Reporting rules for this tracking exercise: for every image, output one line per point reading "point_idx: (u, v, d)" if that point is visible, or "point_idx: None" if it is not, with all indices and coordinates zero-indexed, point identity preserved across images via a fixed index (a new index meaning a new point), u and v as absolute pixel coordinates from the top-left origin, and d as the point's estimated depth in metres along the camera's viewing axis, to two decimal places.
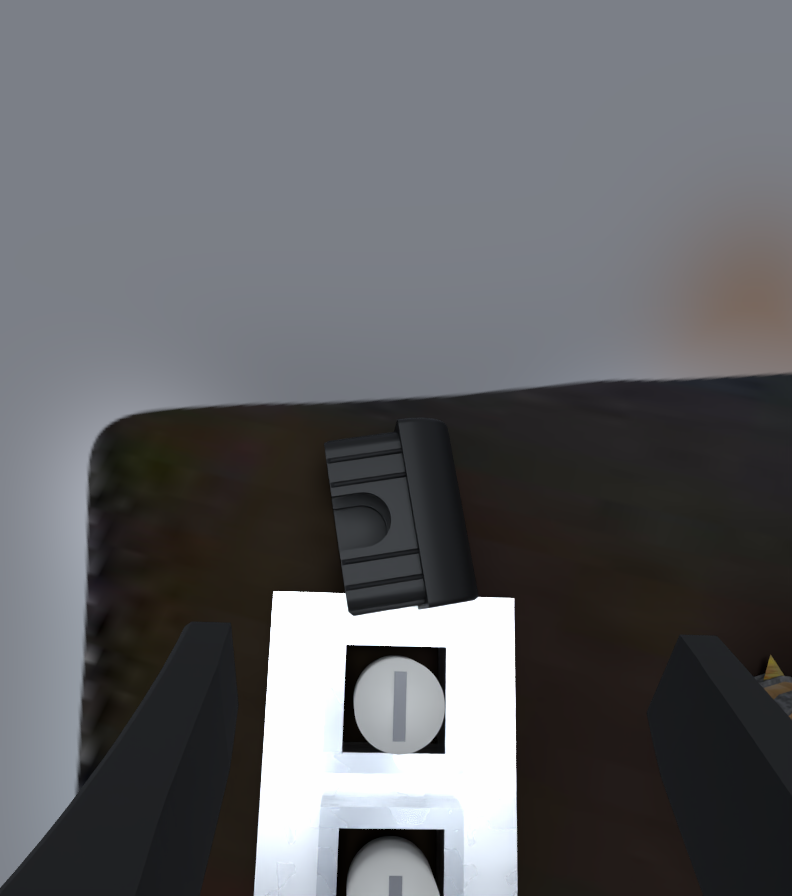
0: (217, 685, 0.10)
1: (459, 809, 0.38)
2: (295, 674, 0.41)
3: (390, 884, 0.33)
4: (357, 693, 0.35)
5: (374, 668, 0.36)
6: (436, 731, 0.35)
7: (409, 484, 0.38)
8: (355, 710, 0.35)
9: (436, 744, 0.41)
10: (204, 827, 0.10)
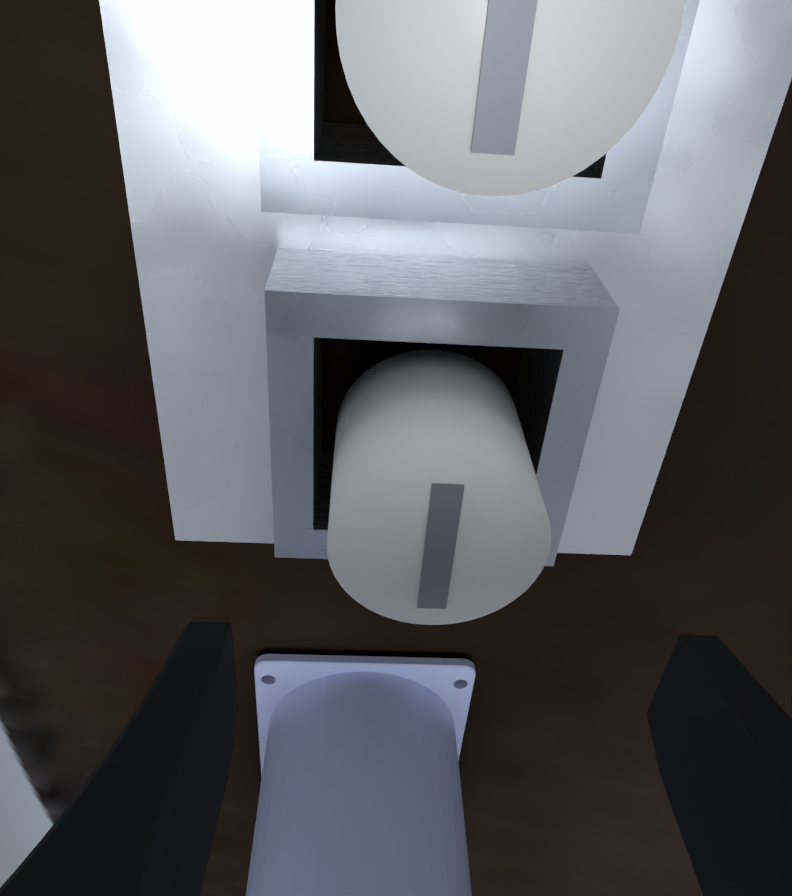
0: (217, 685, 0.10)
1: (608, 310, 0.15)
2: None
3: (433, 499, 0.14)
4: None
5: None
6: (626, 124, 0.10)
7: None
8: (340, 29, 0.09)
9: None
10: (204, 827, 0.10)
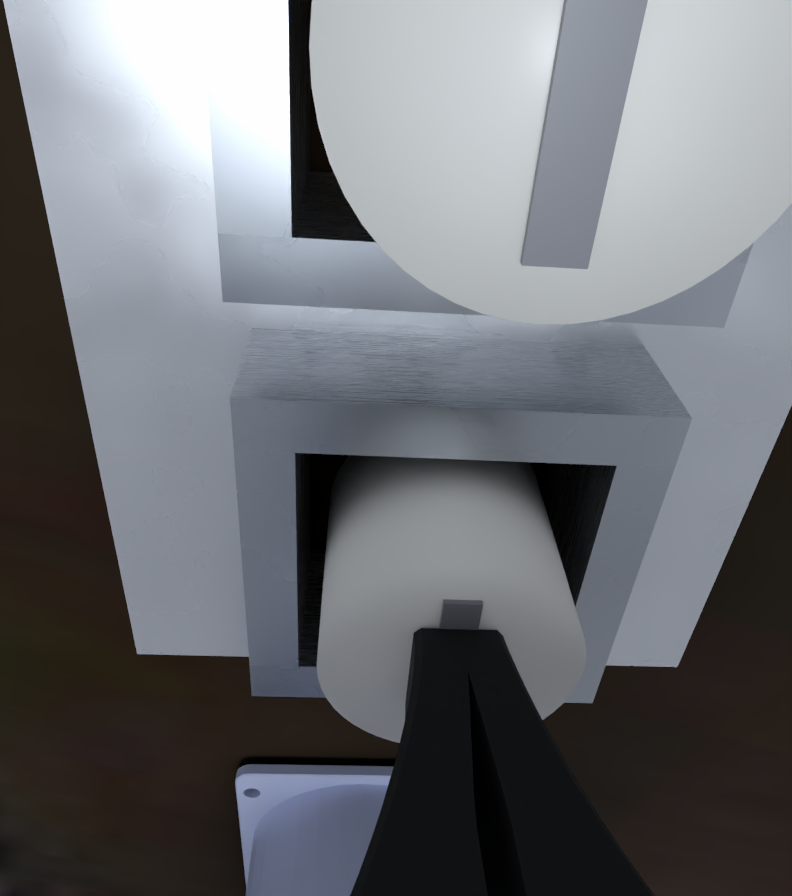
0: None
1: (676, 419, 0.12)
2: None
3: (446, 618, 0.11)
4: None
5: None
6: (762, 222, 0.06)
7: None
8: (318, 82, 0.06)
9: None
10: None
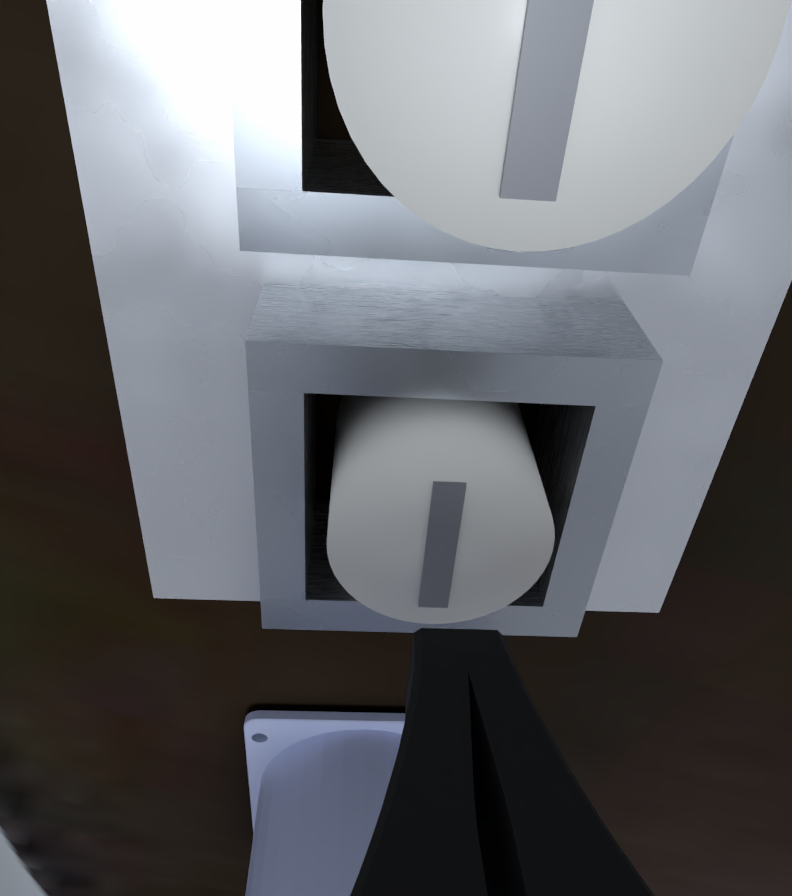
0: None
1: (649, 362, 0.13)
2: None
3: (435, 497, 0.13)
4: None
5: None
6: (702, 161, 0.08)
7: None
8: (329, 39, 0.07)
9: None
10: None
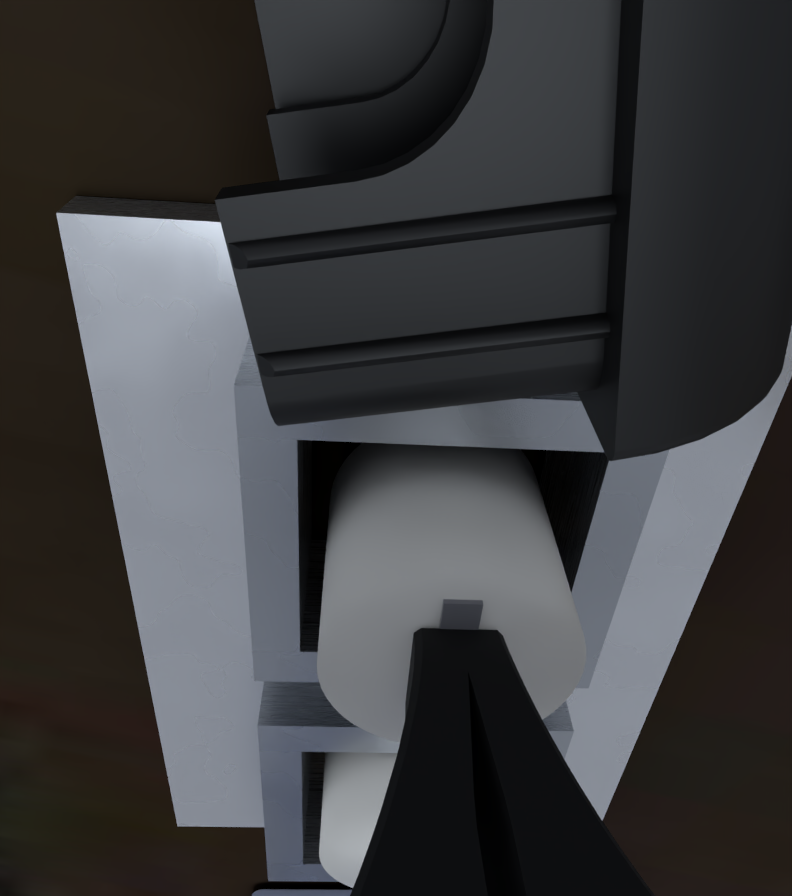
0: None
1: (563, 731, 0.17)
2: (174, 436, 0.15)
3: None
4: (325, 644, 0.12)
5: (378, 590, 0.11)
6: (547, 711, 0.13)
7: None
8: (320, 674, 0.12)
9: None
10: None
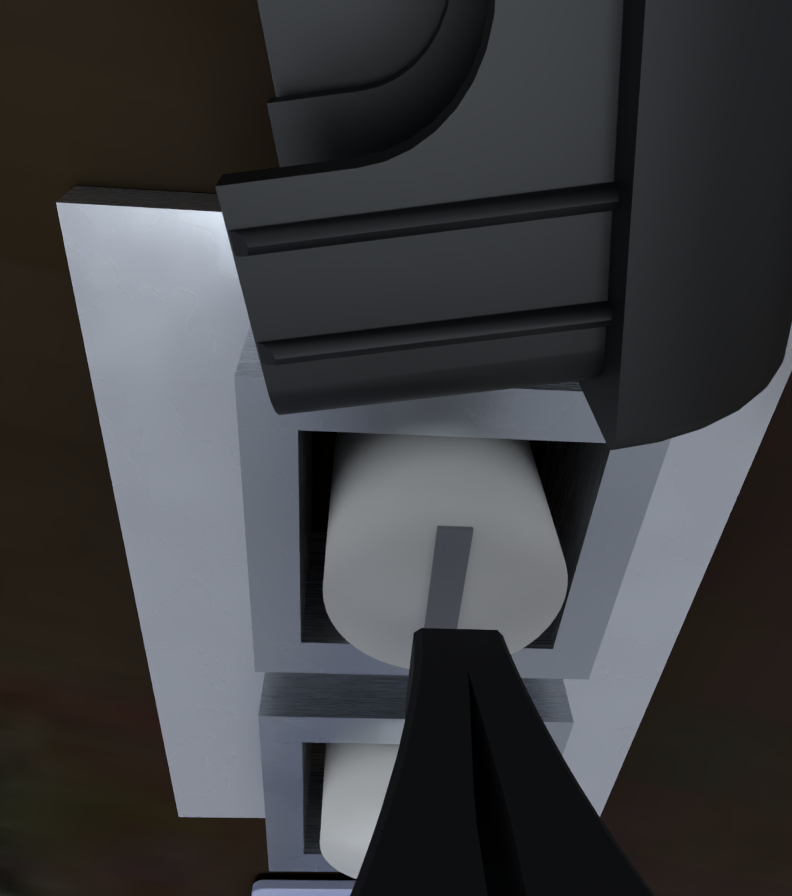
0: None
1: (563, 722, 0.17)
2: (175, 427, 0.15)
3: None
4: (330, 568, 0.13)
5: (379, 517, 0.12)
6: (532, 636, 0.14)
7: None
8: (326, 598, 0.13)
9: None
10: None
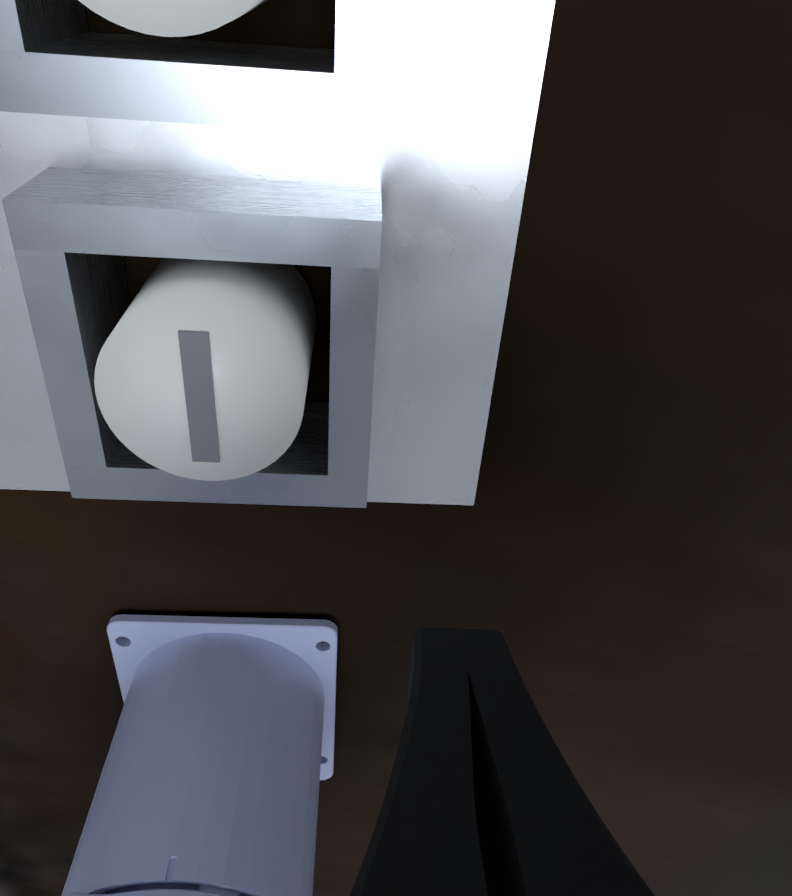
0: None
1: (370, 223, 0.15)
2: None
3: (183, 346, 0.15)
4: None
5: None
6: None
7: None
8: None
9: None
10: None
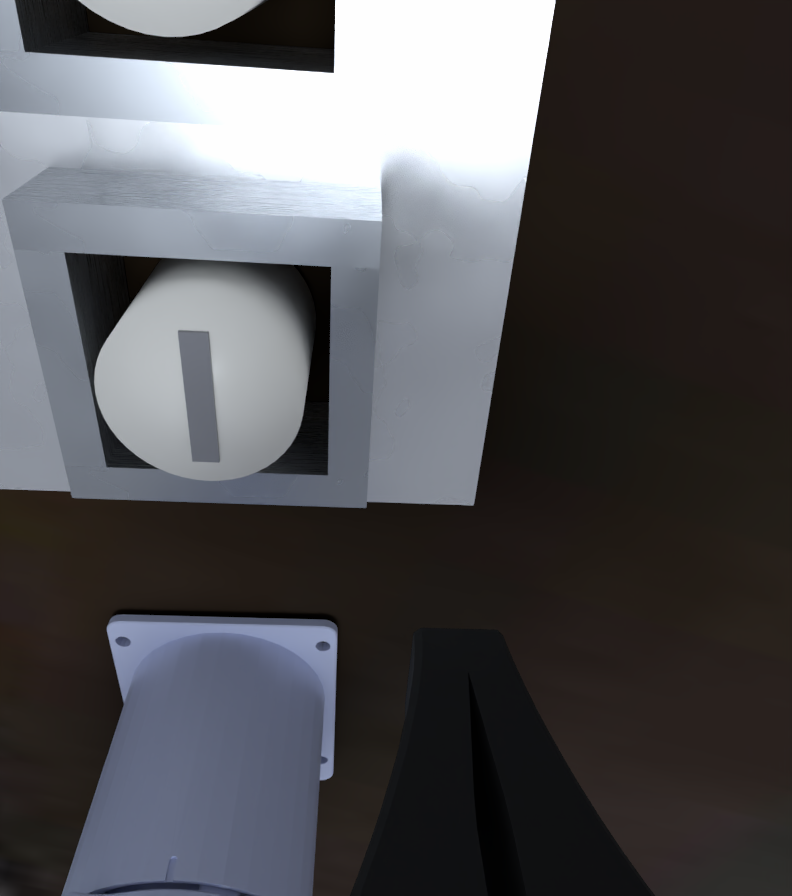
0: None
1: (370, 223, 0.15)
2: None
3: (183, 346, 0.15)
4: None
5: None
6: None
7: None
8: None
9: None
10: None
